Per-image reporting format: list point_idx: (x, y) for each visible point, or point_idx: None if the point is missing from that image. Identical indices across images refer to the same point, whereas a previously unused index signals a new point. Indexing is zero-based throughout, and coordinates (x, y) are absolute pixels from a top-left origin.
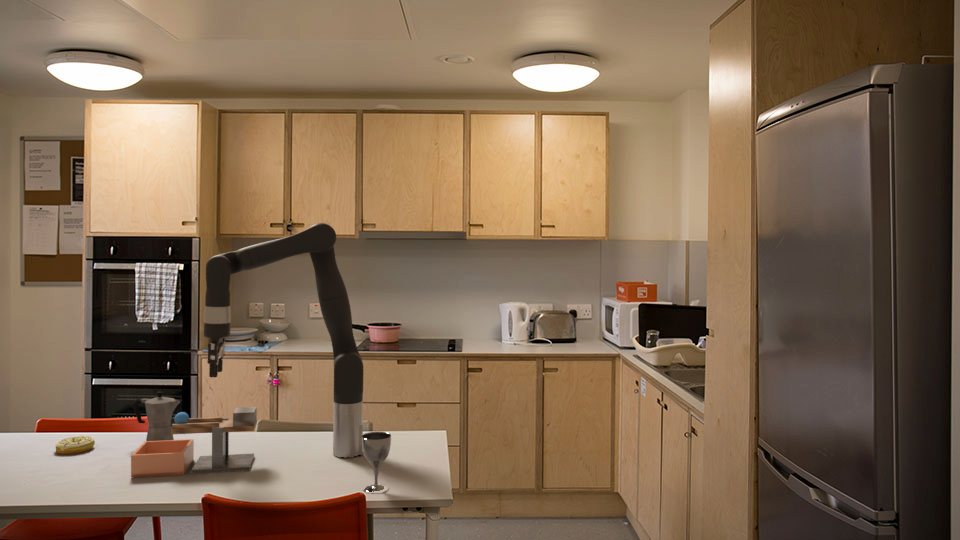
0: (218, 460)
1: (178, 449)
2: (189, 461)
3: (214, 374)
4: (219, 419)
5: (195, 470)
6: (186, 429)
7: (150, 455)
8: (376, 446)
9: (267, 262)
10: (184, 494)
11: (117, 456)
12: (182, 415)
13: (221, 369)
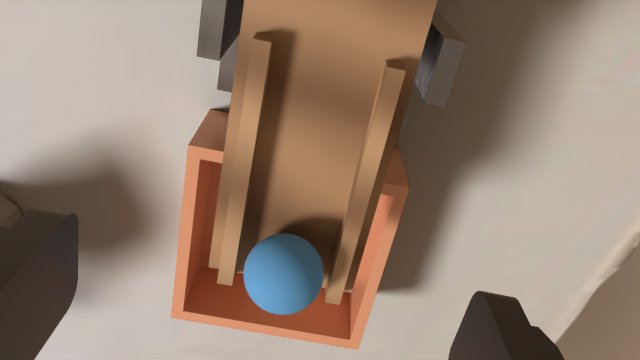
0: None
1: (203, 185)
2: None
3: (549, 352)
4: (269, 56)
5: (405, 110)
6: (369, 228)
7: (374, 294)
8: None
9: None
10: (621, 146)
11: (99, 335)
12: (311, 287)
13: (59, 233)
